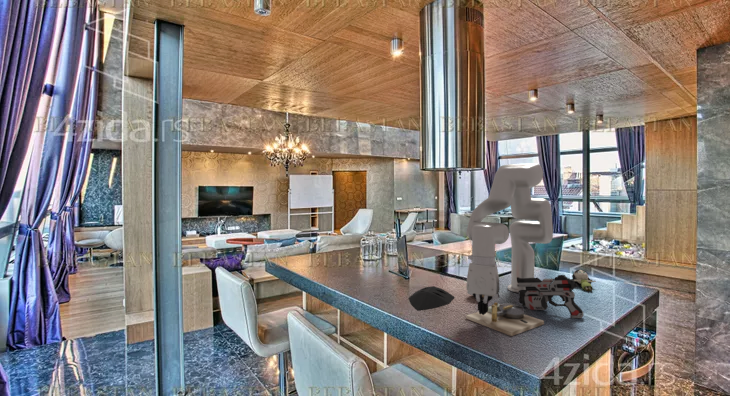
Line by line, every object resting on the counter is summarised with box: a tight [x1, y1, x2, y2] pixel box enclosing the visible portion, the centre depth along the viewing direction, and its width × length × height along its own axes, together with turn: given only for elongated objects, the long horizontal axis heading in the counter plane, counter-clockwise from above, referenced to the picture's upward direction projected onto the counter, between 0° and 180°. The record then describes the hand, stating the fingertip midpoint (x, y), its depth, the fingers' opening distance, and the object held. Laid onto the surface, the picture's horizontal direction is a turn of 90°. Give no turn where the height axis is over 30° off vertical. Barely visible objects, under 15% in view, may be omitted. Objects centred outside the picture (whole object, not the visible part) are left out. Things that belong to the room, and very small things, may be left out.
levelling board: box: [465, 302, 545, 337], centre depth 123 cm, size 18×18×4 cm
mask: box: [408, 285, 456, 312], centre depth 147 cm, size 17×5×30 cm
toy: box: [571, 269, 597, 292], centre depth 165 cm, size 10×7×15 cm
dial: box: [491, 302, 525, 321], centre depth 123 cm, size 14×8×5 cm, turn 123°
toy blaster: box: [517, 274, 585, 319], centre depth 132 cm, size 4×21×15 cm, turn 51°
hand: (482, 313), depth 122 cm, fingers closed
